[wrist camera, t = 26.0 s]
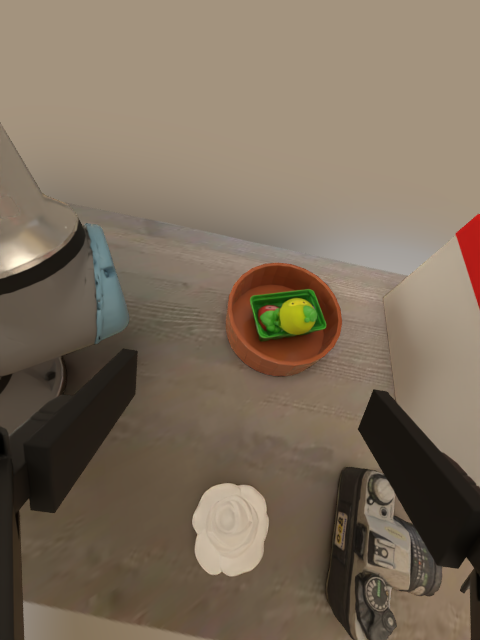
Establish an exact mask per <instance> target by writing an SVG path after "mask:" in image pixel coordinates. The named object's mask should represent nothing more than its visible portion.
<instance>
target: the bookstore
mask: <svg viewBox="0 0 480 640" xmlns="http://www.w3.org/2000/svg"><path fill="white" fill-rule="evenodd" d="M383 303H384V311H385V318H386V326H387V334H388V342H389V350H390V358H391V366H392V374H393V382H394V390H395V398H396V402H397V403H398V405H399V406H400V407H401V408H402V409H403V410H404V411H405V412H406V413H407V415H408V416H409V417H410V418H411V419H412V420H413V421H414V422H415V423H416V425H417V426H418V427H419V428H420V429H421V430H422V431H423V432H424V433H425V435H426V436H427V437H428V438H429V439H430V440H431V441H432V442H433V443H434V445H435V446H436V447H437V448H438V449H439V450H440V451H441V452H443V453H445V454H446V455H448V456H449V457H450V458H451V459H453V460H454V461H455V462H457V463H458V464H459V466H460V467H461V468H462V469H463V470H464V471H465V472H466V473H467V474H468V476H470V477H471V478H472V480H473V481H474V482H475V483H476V485H477V486H479V487H480V214H478V215H477V216H475V217H474V218H473V219H472V220H471V221H470V222H468V223H467V224H466V225H465V226H464V227H463V228H461V229H460V230H459V231H458V232H457V233H456V236H455V237H453V238H452V239H451V240H450V241H449V242H447V243H446V244H445V245H444V246H443V247H442V248H441V249H439V250H438V251H437V252H436V253H435V254H434V255H432V256H431V257H430V258H429V259H428V260H427V261H425V262H424V263H423V264H422V265H421V266H420V267H418V268H417V269H416V270H415V271H414V272H413V273H411V274H410V275H409V276H408V277H407V278H406V279H404V280H403V281H402V282H401V283H400V284H399V285H397V286H396V287H395V288H394V289H393V290H392V291H390V292H389V293H388V294H387V295H386V296H385V297H383Z"/></svg>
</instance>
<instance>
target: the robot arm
mask: <svg viewBox="0 0 480 640" xmlns="http://www.w3.org/2000/svg"><path fill="white" fill-rule="evenodd" d="M128 323H129V313H128V309H127V306H126V302H125V299H124V296H123V293H122V289H121V286H120V283H119V280H118V277H117V274H116V271H115V267H114V264H113V261H112V257H111V254H110V251H109V247H108V244H107V241H106V238H105V235H104V232H103V230H102V228H101V227H100V226H99V225H96V224H92V225H91V224H88V223H86V224H85V225H84V226H82V224H81V222H80V221H79V219H78V217H77V215H76V213H75V212H74V210H73V209H72V208H71V207H70V206H69V205H67V204H65V203H63V202H61V201H59V200H56V199H54V198H51V197H48V196H46V195H44V194H43V193H42V192H41V190H40V188H39V187H38V185H37V183H36V182H35V180H34V178H33V177H32V175H31V173H30V172H29V170H28V169H27V167H26V165H25V163H24V162H23V160H22V158H21V156H20V155H19V153H18V151H17V150H16V148H15V146H14V145H13V143H12V141H11V140H10V138H9V136H8V135H7V133H6V131H5V130H4V128H3V126H2V125H1V123H0V640H24V622H23V592H22V564H21V536H20V514H19V509H20V508H21V507H22V506H23V504H24V503H25V502H26V501H27V500H28V498H29V500H30V508H31V510H35V511H42V512H49V513H55V512H56V510H57V509H58V507H59V506H60V504H61V503H62V501H63V500H64V498H65V497H66V495H67V494H68V493H69V491H70V490H71V488H72V487H73V485H74V484H75V482H76V481H77V479H78V478H79V476H80V475H81V473H82V472H83V470H84V469H85V468H86V466H87V465H88V463H89V462H90V460H91V459H92V457H93V456H94V454H95V453H96V451H97V450H98V448H99V447H100V445H101V444H102V442H103V441H104V440H105V438H106V437H107V435H108V434H109V432H110V431H111V429H112V428H113V426H114V425H115V423H116V422H117V420H118V419H119V417H120V416H121V415H122V413H123V412H124V410H125V409H126V407H127V406H128V404H129V403H130V401H131V400H132V398H133V397H134V395H135V390H136V371H137V352H138V351H135V350H129V349H122V350H121V351H120V352H119V353H118V354H117V355H116V356H115V357H114V358H113V359H112V360H111V361H110V362H109V363H108V364H107V365H105V366H104V367H103V368H102V369H101V370H100V371H99V372H98V373H97V374H96V375H95V376H94V377H93V378H92V379H91V380H90V381H89V382H88V383H86V384H85V385H84V386H83V387H82V388H81V389H80V390H79V391H78V392H77V393H76V394H75V395H74V396H70V395H64V394H63V392H64V390H65V386H66V379H67V372H66V366H65V363H64V360H63V358H62V355H65V354H68V353H71V352H74V351H76V350H79V349H82V348H85V347H88V346H90V345H93V344H98V343H99V342H100V341H101V340H103V339H106V338H108V337H110V336H113V335H115V334H117V333H119V332H121V331H123V330H124V329H125V328H126V327H127V325H128ZM358 430H359V432H360V433H361V435H362V437H363V439H364V440H365V442H366V444H367V446H368V447H369V449H370V451H371V452H372V454H373V456H374V458H375V459H376V461H377V463H378V464H379V466H380V468H381V470H382V471H383V473H384V475H385V477H386V478H387V480H388V482H389V483H390V485H391V487H392V489H393V490H394V492H395V494H396V496H397V497H398V499H399V501H400V502H401V504H402V506H403V508H404V509H405V511H406V513H407V515H408V516H409V518H410V520H411V521H412V523H413V525H414V527H415V528H416V530H417V532H418V533H419V535H420V537H421V539H422V540H423V542H424V544H425V546H426V547H427V549H428V551H429V552H430V554H431V556H432V558H433V559H434V561H435V563H436V565H437V566H443V567H450V568H457V569H458V568H459V567H460V565H461V564H462V562H463V561H464V559H465V558H466V557H467V558H468V560H469V561H470V563H471V564H472V566H473V567H474V569H473V571H472V572H471V573H470V575H469V576H468V578H467V579H466V580H465V582H464V583H463V585H462V586H461V589H460V591H461V592H463V593H465V592H466V590H467V589H470V615H471V640H480V487H479V486H477V485H476V483H475V482H474V481H473V480H472V478H471V477H470V476H468V474H467V473H466V472H465V471H464V470H463V469H462V468H461V467H460V466H459V464H458V463H457V462H455V461H454V460H453V459H451V458H450V457H449V456H448V455H446V454H445V453H443V452H441V451H440V450H439V449H438V448H437V447H436V446H435V445H434V443H433V442H432V441H431V440H430V439H429V438H428V437H427V436H426V435H425V433H424V432H423V431H422V430H421V429H420V428H419V427H418V426H417V425H416V423H415V422H414V421H413V420H412V419H411V418H410V417H409V416H408V415H407V413H406V412H405V411H404V410H403V409H402V408H401V407H400V406H399V405H398V403H397V402H396V401H395V400H394V399H393V398H392V397H391V396H390V395H389V393H388V392H386V391H380V390H373V392H372V395H371V397H370V400H369V402H368V405H367V407H366V410H365V413H364V415H363V418H362V420H361V423H360V425H359V428H358Z"/></svg>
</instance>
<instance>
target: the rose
mask: <svg viewBox="0 0 480 640" xmlns="http://www.w3.org/2000/svg"><path fill="white" fill-rule="evenodd" d="M266 512H267V508H266V501H265V499H264V497H263V496H262V495H261V494H260V493H259V492H258V491H257V490H256V489H255V488H254V487H252V486H249V485H239V486H236V485H235V484H232V483H223V484H219V485H215V486H213V487H211V488H210V489H208V490H207V491H206V492H205V493H204V494H203V496H202V498H201V500H200V502H199V505H198V507H197V509H196V511H195V512H194V515H193V519H192V525H193V527H194V529H195V531H196V533H197V534H198V535H197V538H196V543H195V555H196V558H197V560H198V562H199V564H200V565H201V567H202V568H203V569H204V570H205V571H206V572H207V573H209V574H211V575H217V574H219V573H221V572H223V573H224V574H226V575H227V576H237V575H240V574H242V573H244V572H249V571H251V570H252V569H254V568H255V567H256V566H257V565H258V563H259V562H260V560H261V558H262V556H263V553H264V540H265V538H266V535H267V532H268V526H269V518H268V515H267V514H266Z"/></svg>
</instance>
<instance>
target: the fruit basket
mask: <svg viewBox="0 0 480 640" xmlns="http://www.w3.org/2000/svg"><path fill="white" fill-rule="evenodd" d="M250 304H251V308H252V311H253V317H254V319H255V325H256V329H257V333H258V335H259V341H261V342H262V341H268V340H270V339H273V340H275V339H281V338H284V337H287V338H288V337H294V336H297V335H307V334H310V333H312V332H315V331H320V330H323V329H325V328H326V322H325V320H324V316H323V313H322V311H321V308H320V306H319V303H318V300H317V297H316V295H315V293H314V291H313V290H311V289H305V290H296V291H288V292H279V293H271V294H263V295H254V296H252V297H251V298H250Z"/></svg>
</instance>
